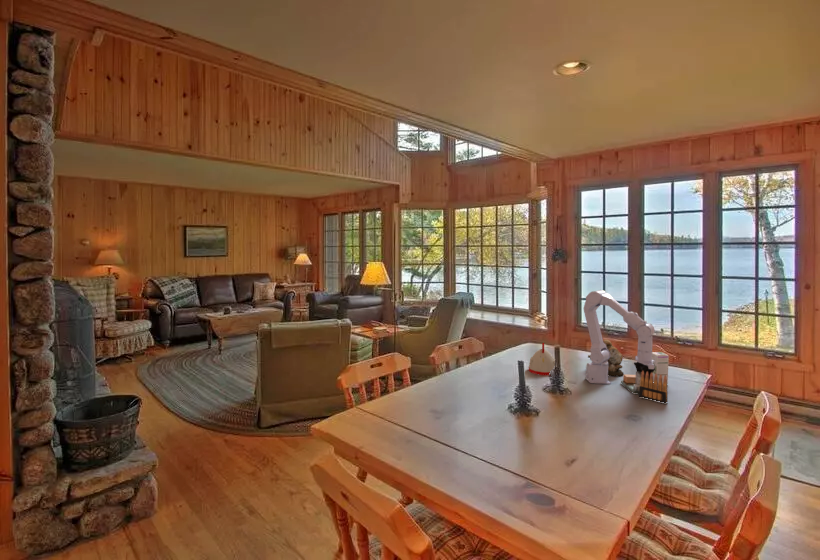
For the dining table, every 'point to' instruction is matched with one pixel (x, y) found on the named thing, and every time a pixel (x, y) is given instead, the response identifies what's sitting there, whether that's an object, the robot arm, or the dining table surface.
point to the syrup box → (660, 365)
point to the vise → (631, 387)
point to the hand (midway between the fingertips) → (643, 380)
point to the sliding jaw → (629, 378)
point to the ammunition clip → (653, 387)
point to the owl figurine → (613, 360)
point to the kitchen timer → (541, 362)
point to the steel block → (638, 377)
